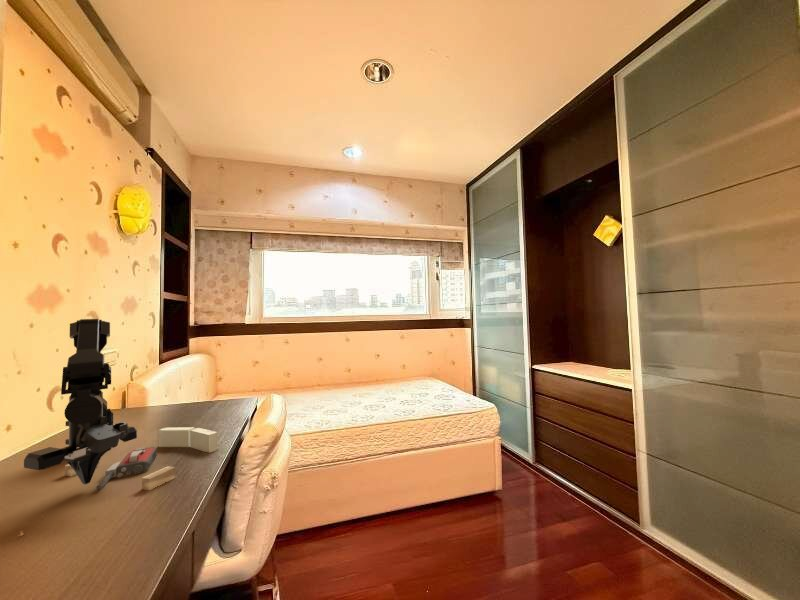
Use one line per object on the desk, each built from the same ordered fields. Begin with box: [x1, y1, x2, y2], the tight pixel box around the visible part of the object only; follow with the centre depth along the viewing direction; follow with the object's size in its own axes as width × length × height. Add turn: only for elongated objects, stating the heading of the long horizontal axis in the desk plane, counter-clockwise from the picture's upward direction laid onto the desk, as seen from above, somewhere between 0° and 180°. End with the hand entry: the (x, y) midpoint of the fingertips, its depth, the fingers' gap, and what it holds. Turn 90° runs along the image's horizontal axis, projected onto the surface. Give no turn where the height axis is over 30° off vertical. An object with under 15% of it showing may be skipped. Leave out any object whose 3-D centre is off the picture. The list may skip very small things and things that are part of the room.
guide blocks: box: [64, 461, 176, 491], centre depth 83 cm, size 30×6×2 cm, turn 71°
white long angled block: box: [158, 426, 219, 453], centre depth 102 cm, size 21×4×5 cm, turn 71°
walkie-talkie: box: [96, 446, 158, 490], centre depth 86 cm, size 9×4×20 cm
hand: (86, 483), depth 77 cm, fingers closed
